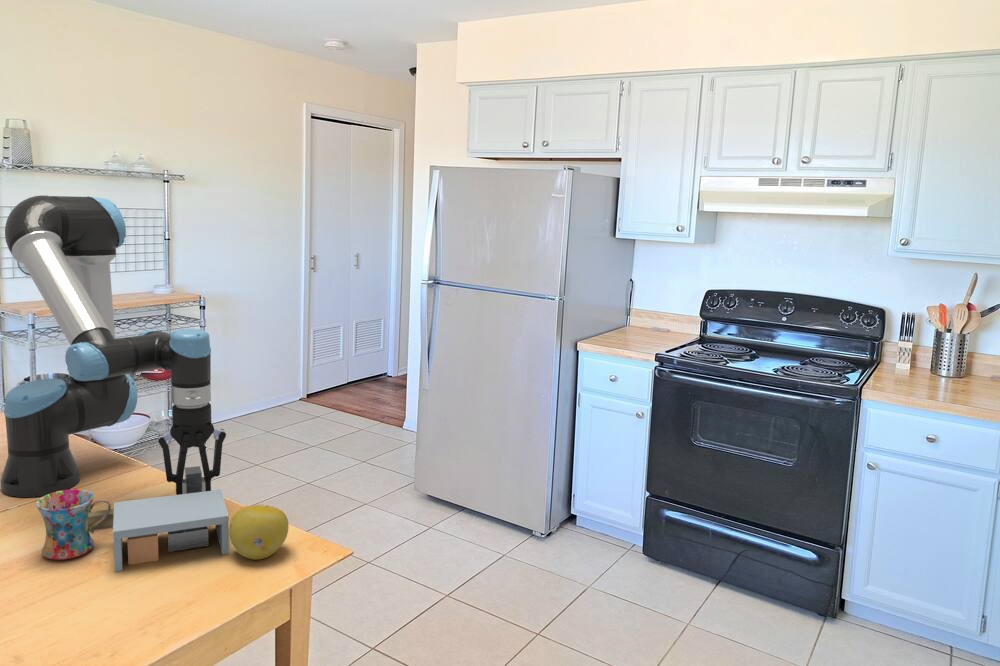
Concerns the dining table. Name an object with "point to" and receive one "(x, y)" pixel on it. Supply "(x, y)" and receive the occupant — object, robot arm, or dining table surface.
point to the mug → (68, 522)
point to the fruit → (258, 530)
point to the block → (142, 548)
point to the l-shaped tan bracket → (97, 515)
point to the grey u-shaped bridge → (169, 518)
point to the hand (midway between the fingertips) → (194, 508)
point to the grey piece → (194, 535)
